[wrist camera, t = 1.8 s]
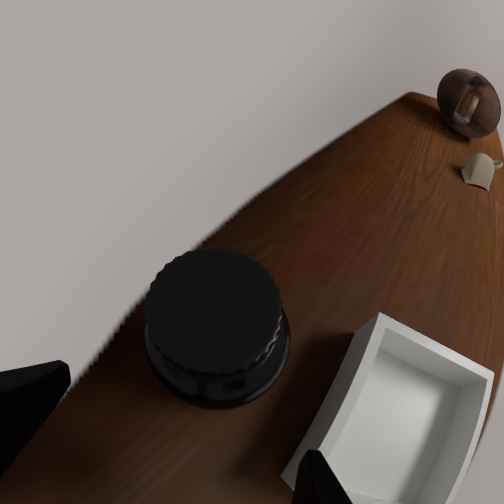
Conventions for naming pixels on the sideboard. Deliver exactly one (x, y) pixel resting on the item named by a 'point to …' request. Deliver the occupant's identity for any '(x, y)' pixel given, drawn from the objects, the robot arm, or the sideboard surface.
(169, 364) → the supplement bottle
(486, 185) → the beige rounded piece
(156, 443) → the sideboard surface
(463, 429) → the tray
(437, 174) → the sideboard surface
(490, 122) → the dark glossy egg
